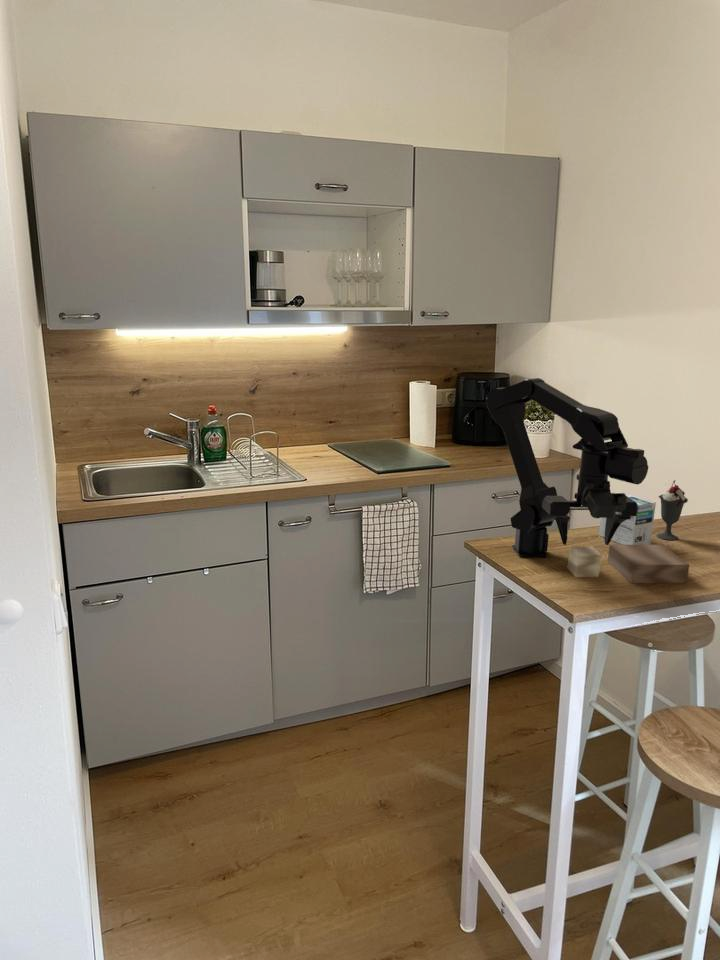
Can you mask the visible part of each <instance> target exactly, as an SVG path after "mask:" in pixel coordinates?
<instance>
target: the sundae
mask: <svg viewBox="0 0 720 960" xmlns="http://www.w3.org/2000/svg"><path fill="white" fill-rule="evenodd" d="M675 482H676V480H673V481H672V484H671V486H670V487H669V489H668V490H666V492H665V493H663V494H661V495H658V498H659V499H660V517H661V519H662V521H663V522H664V523H665V524H666V527H665V529H664V531H663V532H662V533H661V532H659V533H657V534H656V537H657V538H658V539H662V540H665V541H677V540H679V537H678V536H677V535H675V534H673V533H672V525H674V524H676V523H677V522H678V521H680V517H681V515H682V511H683V507H684V505H685V504H686V503H688V502H689V498H687V497H685V494H686V492H685V491H684V490H683V489H681V488H680V486H679V485H677V484H676V483H675Z"/></svg>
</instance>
